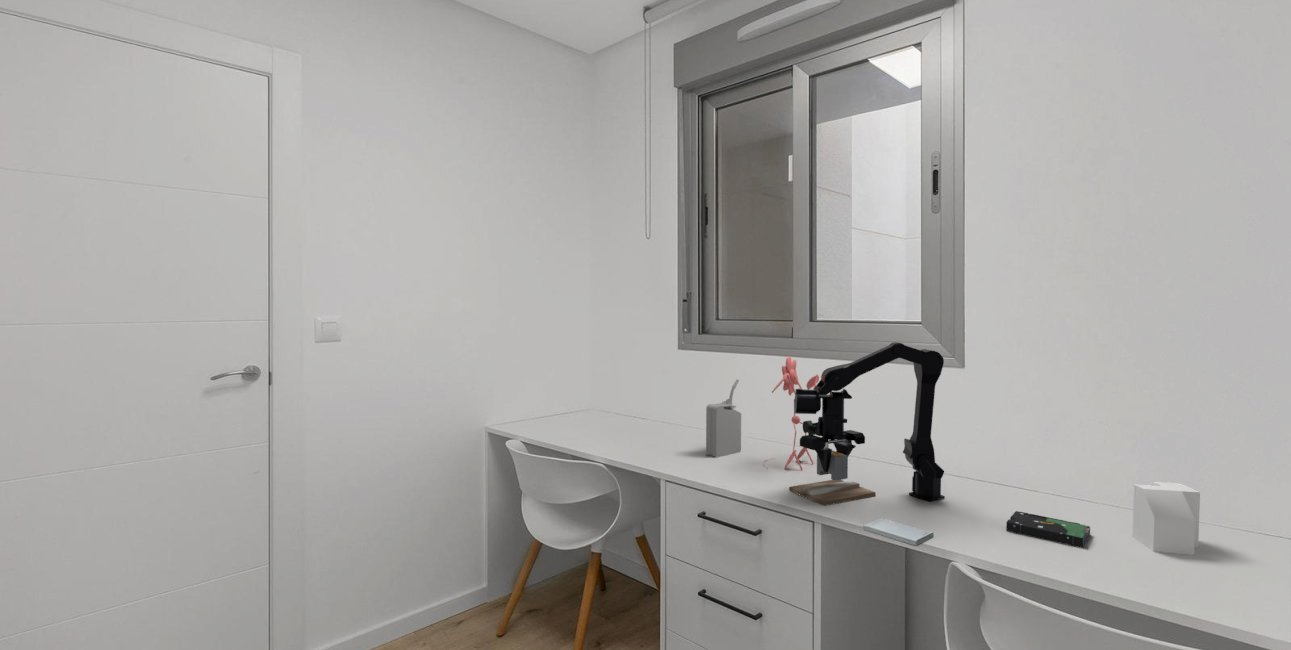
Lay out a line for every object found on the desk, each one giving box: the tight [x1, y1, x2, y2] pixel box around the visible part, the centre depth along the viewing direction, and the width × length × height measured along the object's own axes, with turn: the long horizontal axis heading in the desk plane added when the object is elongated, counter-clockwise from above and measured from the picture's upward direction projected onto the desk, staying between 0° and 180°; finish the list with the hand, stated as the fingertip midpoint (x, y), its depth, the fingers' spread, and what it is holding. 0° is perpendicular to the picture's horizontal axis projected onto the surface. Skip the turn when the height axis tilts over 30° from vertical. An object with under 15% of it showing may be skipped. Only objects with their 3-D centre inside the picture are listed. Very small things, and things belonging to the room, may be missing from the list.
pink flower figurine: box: [762, 356, 820, 471], centre depth 198 cm, size 15×26×35 cm, turn 143°
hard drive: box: [862, 517, 934, 547], centre depth 139 cm, size 2×8×12 cm
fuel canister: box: [705, 379, 742, 458], centre depth 212 cm, size 15×5×25 cm, turn 130°
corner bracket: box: [1131, 481, 1201, 555], centre depth 133 cm, size 11×11×12 cm
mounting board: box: [788, 479, 877, 506], centre depth 168 cm, size 14×18×2 cm
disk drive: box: [1005, 510, 1091, 549], centre depth 139 cm, size 10×3×15 cm
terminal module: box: [816, 450, 849, 480], centre depth 167 cm, size 7×4×7 cm, turn 26°
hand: (832, 470), depth 167 cm, fingers closed on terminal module, 4 cm apart
